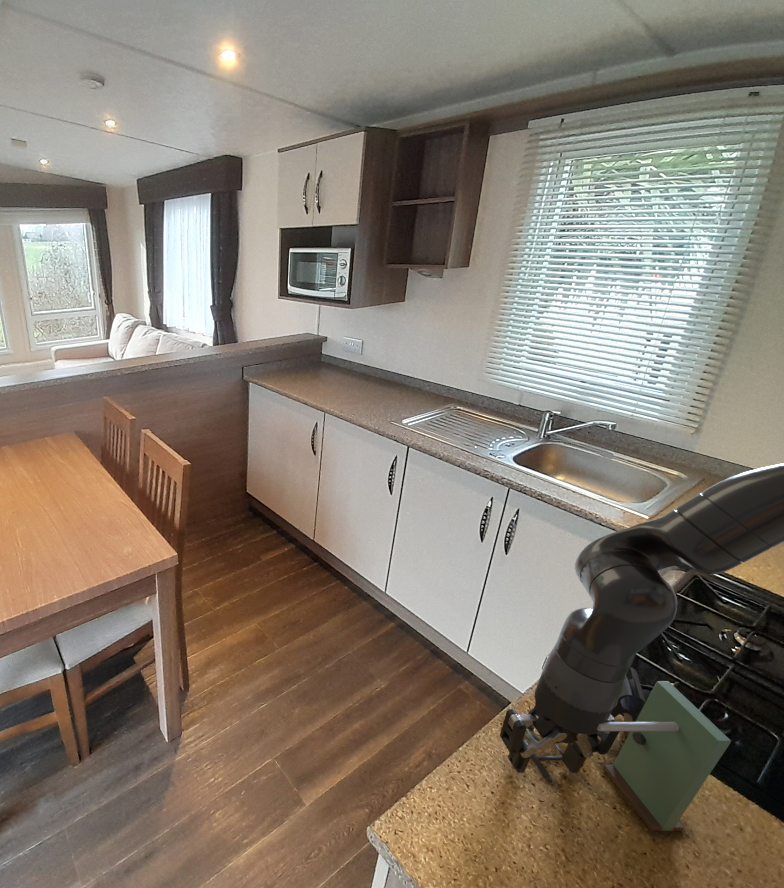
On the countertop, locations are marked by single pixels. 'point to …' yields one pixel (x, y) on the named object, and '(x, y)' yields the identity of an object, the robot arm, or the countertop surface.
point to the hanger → (538, 758)
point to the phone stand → (630, 700)
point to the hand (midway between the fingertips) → (542, 766)
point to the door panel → (665, 757)
